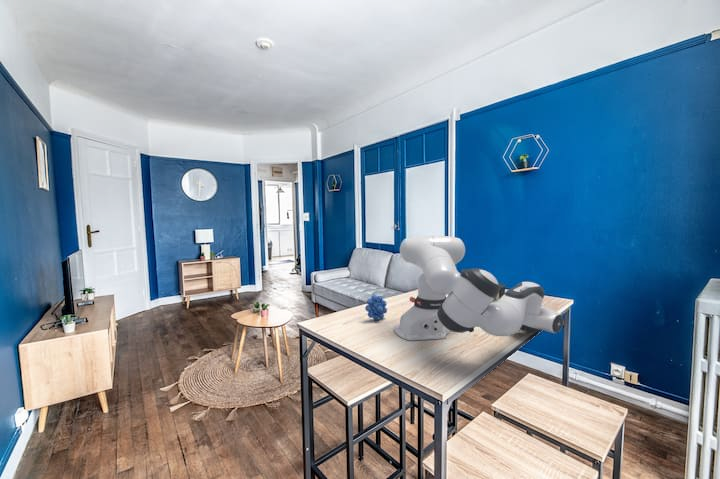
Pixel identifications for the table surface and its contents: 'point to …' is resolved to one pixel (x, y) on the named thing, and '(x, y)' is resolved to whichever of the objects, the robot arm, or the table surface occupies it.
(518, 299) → the robot arm
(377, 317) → the grapes
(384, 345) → the table surface
